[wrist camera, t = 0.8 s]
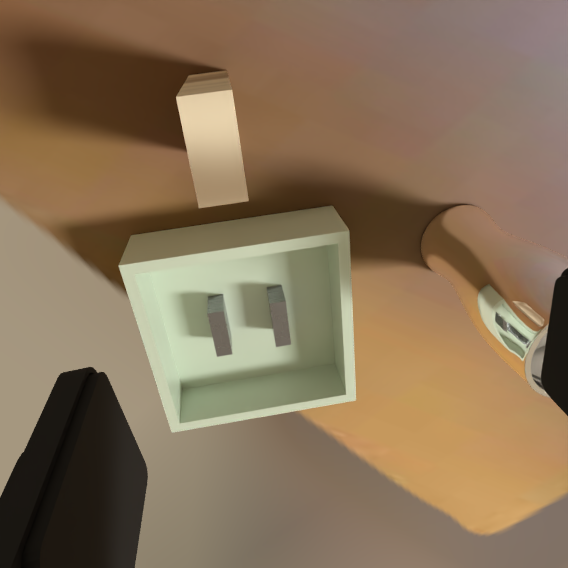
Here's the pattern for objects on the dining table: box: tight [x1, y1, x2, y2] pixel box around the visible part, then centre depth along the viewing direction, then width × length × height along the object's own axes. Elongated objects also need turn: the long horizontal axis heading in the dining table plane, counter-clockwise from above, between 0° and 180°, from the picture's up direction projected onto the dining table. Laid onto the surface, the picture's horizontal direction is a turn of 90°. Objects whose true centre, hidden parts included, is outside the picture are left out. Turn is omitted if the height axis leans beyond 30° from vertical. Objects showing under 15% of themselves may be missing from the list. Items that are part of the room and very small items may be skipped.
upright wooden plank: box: [176, 70, 249, 208], centre depth 26 cm, size 5×2×11 cm, turn 6°
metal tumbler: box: [421, 205, 568, 398], centre depth 31 cm, size 7×7×15 cm
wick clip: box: [207, 285, 291, 357], centre depth 36 cm, size 4×6×2 cm
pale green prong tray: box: [119, 205, 356, 432], centre depth 36 cm, size 15×15×5 cm
